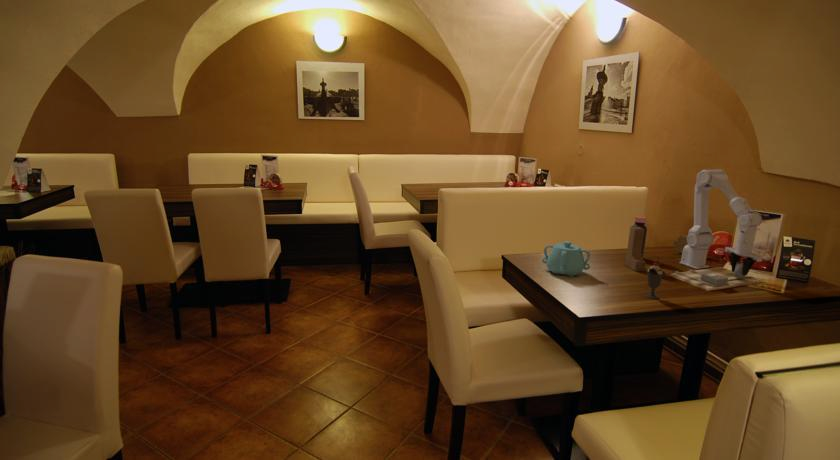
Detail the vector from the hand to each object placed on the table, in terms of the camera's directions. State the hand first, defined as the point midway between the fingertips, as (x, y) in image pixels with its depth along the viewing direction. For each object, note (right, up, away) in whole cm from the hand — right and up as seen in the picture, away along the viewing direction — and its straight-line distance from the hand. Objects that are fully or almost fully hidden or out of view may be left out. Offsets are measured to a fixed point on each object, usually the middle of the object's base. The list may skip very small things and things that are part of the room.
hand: (739, 273), depth 200 cm
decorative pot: (-70, -1, +8) cm, 71 cm away
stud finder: (-14, -4, -5) cm, 15 cm away
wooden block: (-37, +1, +15) cm, 40 cm away
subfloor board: (-8, -3, +3) cm, 9 cm away
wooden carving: (0, +5, +37) cm, 38 cm away
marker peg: (0, -2, +1) cm, 2 cm away
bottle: (-30, +4, +30) cm, 43 cm away
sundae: (-45, -8, -18) cm, 49 cm away
